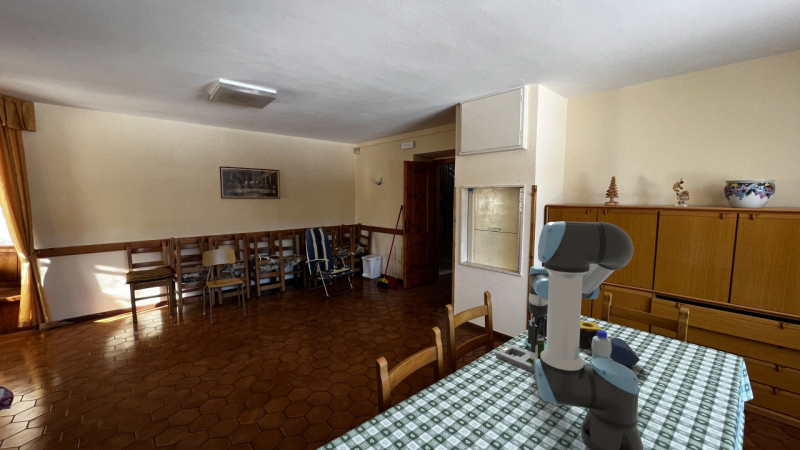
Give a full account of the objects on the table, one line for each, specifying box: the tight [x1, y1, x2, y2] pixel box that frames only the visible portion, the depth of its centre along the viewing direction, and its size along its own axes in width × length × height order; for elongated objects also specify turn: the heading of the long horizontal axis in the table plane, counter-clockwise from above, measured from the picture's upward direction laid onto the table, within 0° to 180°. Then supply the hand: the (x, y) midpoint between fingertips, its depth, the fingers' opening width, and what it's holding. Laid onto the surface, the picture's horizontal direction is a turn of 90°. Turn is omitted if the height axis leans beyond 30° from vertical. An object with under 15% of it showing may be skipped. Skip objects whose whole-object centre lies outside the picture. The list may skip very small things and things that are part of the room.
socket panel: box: [495, 344, 535, 374], centre depth 139 cm, size 12×22×2 cm, turn 41°
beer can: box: [530, 334, 545, 364], centre depth 134 cm, size 5×5×12 cm
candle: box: [579, 320, 602, 350], centre depth 155 cm, size 10×10×10 cm
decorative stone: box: [609, 337, 641, 367], centre depth 136 cm, size 12×12×10 cm
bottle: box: [591, 329, 612, 360], centre depth 123 cm, size 7×7×20 cm
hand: (537, 356), depth 134 cm, fingers closed on beer can, 5 cm apart
